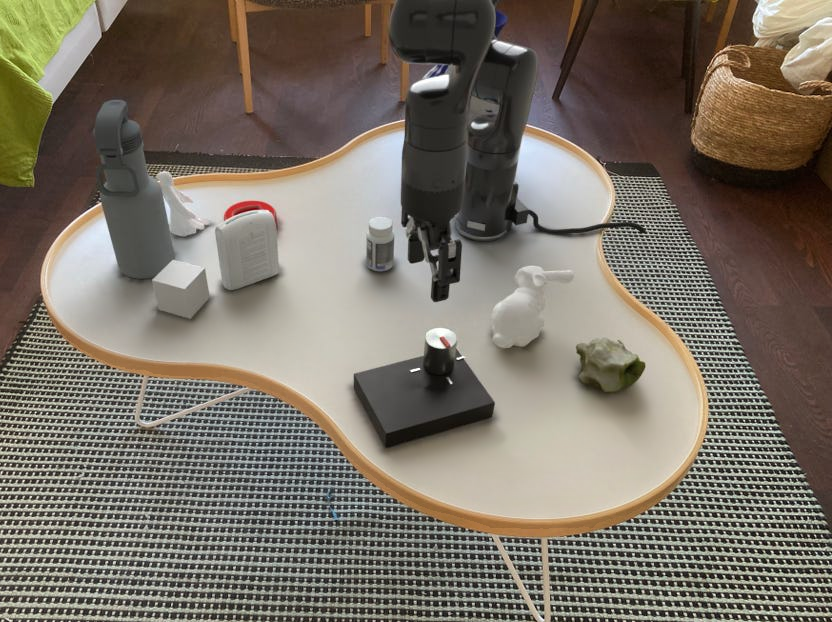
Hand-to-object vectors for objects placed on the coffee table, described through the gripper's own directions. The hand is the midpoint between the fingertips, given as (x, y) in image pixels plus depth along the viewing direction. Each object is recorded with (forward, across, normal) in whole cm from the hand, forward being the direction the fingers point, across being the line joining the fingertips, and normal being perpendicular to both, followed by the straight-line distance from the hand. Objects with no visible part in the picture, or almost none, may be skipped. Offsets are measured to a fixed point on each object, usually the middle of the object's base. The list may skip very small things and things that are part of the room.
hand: (427, 279), depth 97 cm
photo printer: (+17, +29, +20) cm, 39 cm away
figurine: (+17, +48, +28) cm, 58 cm away
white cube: (+16, +25, +32) cm, 44 cm away
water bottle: (+16, +38, +36) cm, 55 cm away
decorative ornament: (+17, +44, +17) cm, 50 cm away
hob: (+16, -7, +3) cm, 18 cm away
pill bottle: (+18, +26, -2) cm, 32 cm away
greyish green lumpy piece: (+17, -11, -24) cm, 32 cm away
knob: (+13, -3, -1) cm, 14 cm away
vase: (+19, +54, -29) cm, 64 cm away
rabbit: (+17, +3, -18) cm, 25 cm away
